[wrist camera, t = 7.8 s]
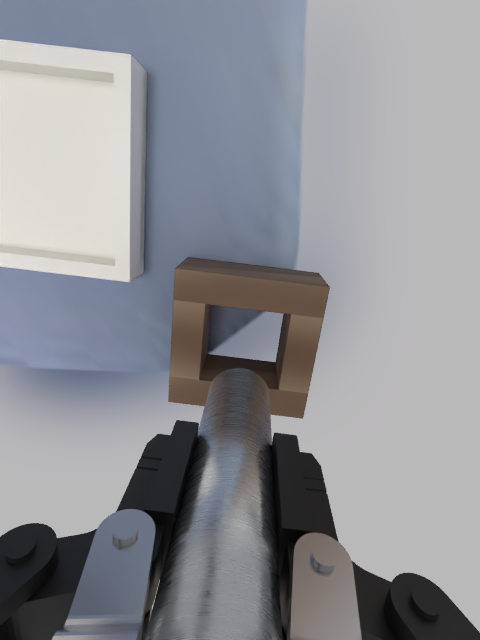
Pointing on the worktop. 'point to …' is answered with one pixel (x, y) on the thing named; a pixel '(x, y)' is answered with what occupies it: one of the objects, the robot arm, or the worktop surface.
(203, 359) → the bore block
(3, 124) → the tray
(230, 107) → the worktop surface
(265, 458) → the cylinder
